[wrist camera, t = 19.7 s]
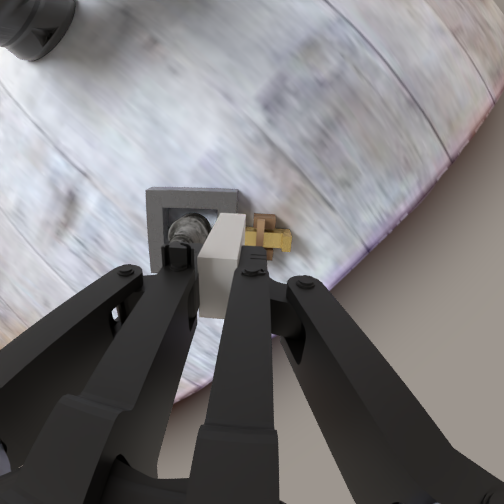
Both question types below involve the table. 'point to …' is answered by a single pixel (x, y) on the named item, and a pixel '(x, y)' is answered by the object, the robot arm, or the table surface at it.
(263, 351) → the robot arm
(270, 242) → the pin
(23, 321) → the table surface
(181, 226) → the grey stone chess piece
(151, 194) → the socket collar
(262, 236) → the bracket
